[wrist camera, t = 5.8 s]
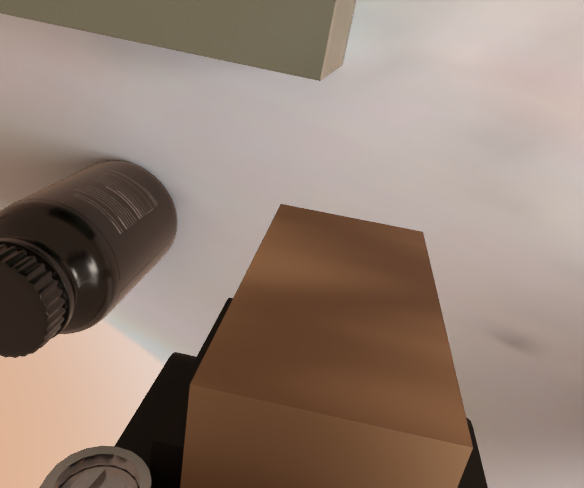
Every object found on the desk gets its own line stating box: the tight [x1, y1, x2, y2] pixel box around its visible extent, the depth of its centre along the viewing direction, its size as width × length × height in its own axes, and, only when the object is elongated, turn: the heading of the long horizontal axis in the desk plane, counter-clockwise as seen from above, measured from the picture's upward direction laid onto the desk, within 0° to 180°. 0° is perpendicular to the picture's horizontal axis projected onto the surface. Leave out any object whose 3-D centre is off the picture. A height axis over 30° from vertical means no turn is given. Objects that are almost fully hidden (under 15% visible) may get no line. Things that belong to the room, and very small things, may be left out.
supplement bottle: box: [0, 161, 177, 358], centre depth 27 cm, size 7×7×12 cm
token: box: [180, 204, 473, 488], centre depth 9 cm, size 3×6×6 cm, turn 171°
